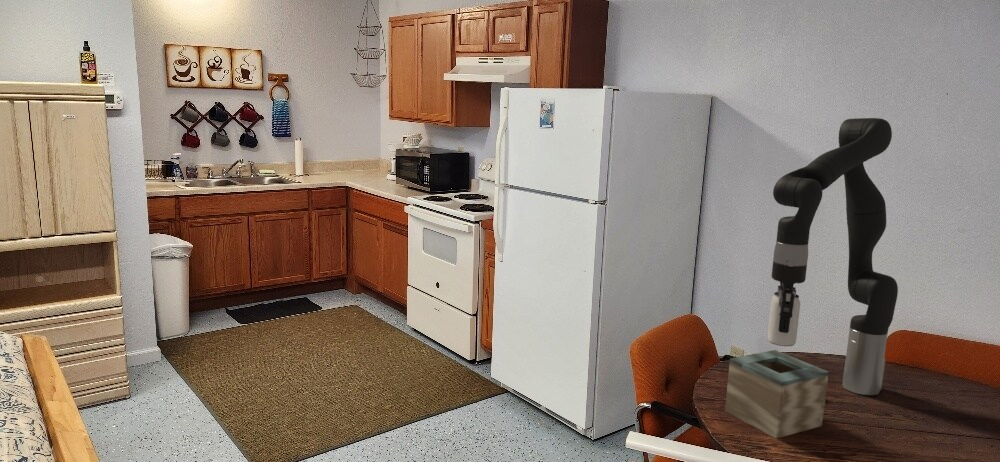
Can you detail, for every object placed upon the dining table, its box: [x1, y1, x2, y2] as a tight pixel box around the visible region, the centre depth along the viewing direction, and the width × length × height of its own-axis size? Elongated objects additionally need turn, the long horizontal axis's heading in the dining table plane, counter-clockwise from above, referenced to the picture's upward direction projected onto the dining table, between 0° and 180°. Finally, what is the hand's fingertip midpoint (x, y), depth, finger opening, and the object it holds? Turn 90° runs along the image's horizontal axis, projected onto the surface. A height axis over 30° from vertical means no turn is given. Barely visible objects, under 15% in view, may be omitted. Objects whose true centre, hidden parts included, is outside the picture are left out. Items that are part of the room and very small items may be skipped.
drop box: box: [724, 349, 830, 440], centre depth 169 cm, size 16×16×14 cm
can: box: [767, 291, 801, 347], centre depth 166 cm, size 6×6×12 cm
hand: (782, 327), depth 166 cm, fingers closed on can, 6 cm apart
